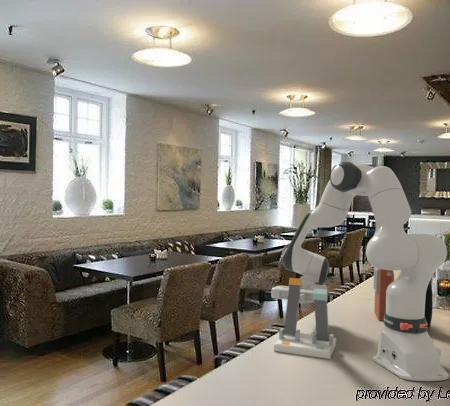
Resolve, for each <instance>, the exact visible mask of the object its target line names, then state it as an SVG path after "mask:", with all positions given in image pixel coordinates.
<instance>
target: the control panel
mask: <svg viewBox="0 0 450 406" xmlns="http://www.w3.org/2000/svg"><path fill="white" fill-rule="evenodd" d="M394 281H395V270H392V271H389V270H383V269H378V268H374V267H373V288H372V289H373V290H374V314H375V316H376V319H377V320H378V321H382V322H384V313H385V312H386V290H387V288H388V286H389V285H390V284H391V283H392V282H394Z"/></svg>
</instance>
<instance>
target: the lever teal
mask: <svg viewBox="0 0 450 406" xmlns="http://www.w3.org/2000/svg"><path fill="white" fill-rule="evenodd" d="M313 300H314V302H313V304H314V319H315V330H316V331H315V332H316V335H317V338H316V339H317V340H318V341H326V342H328V341H329V336H330V334H329V333H330V332H329V317H328V312H329V311H328V289H327V290H325V289H314V291H313Z"/></svg>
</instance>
